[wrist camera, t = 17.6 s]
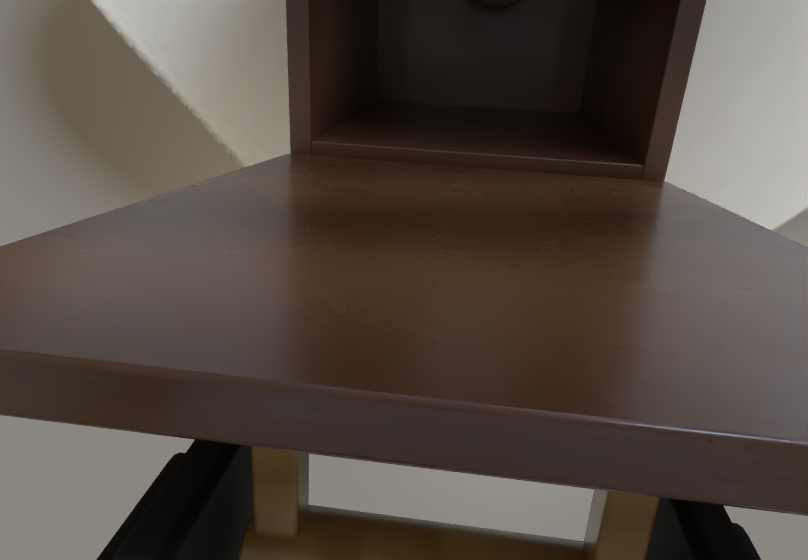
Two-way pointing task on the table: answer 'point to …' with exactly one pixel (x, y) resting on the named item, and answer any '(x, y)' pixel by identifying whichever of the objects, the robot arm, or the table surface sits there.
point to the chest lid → (429, 343)
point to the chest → (492, 82)
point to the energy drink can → (495, 3)
